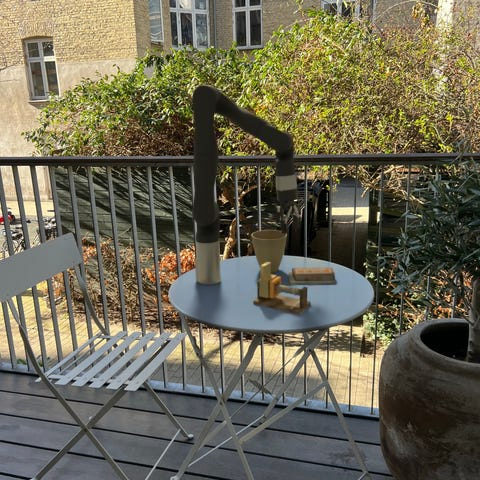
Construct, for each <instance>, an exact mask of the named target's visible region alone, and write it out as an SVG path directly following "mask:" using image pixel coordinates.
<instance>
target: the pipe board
mask: <svg viewBox="0 0 480 480" xmlns="http://www.w3.org/2000/svg"><path fill="white" fill-rule="evenodd" d="M256 283H257V284H256V285H257V287H256V289H257V291H256V292H257V293H256V294H257V297H256V298H255V299H253V304H254V305H258V306H262V307H265V308H269V309H275V310H279V311H282V312H287V313H291V314H296V315H301V314H302V313H303V312H305V310H307V309H308V308H309V307H310V306H311V304H312V303H311V301H308V287H307V286H303V287H302V288H299V287H293V286H288V285H284V284H281V285H279V284H274V291H279V292H281V293H285V294H289V295H294V296H299V298H294V297H290V296H285V295H280V294H278V295H277V296H276V297H274V298H270V297H269V298H265V297H261V296H260V291H259V280H257V282H256Z"/></svg>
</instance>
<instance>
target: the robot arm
mask: <svg viewBox="0 0 480 480" xmlns="http://www.w3.org/2000/svg"><path fill="white" fill-rule="evenodd" d="M191 97H192V99H191V101H192V110H193V111H192V112H193V123H194V124H193V125H194V127H193V129H194V131H193V132H194V133H193V182H194V184H193V185H194V195H193V203H192V204H193V205H192V218H193V220H194V222H195V223H196V224H197V227H196V232H195V247H196V258H194V267H195V268H194V269H195V282H198V283H199V284H200V285H204V286H206V285H207V286H213V285H216V284H220V282H221V280H222V279H221V278H222V275H221V273H222V272H221V251H220V250H221V249H220V233H221V213H220V211H221V210H220V207H219V204H218V203H217V201H215V197H214V193H215V191H214V189H215V184H216V180H217V175H218V171H219V155H220V154H219V153H220V152H219V143H218V139H217V135H216V132H215V114H216V115H219V116H221V117H224V118H226V119H227V120H229V121H230V122H232V123H233V124H234V125H235V126H237V127H238V128H239V129H240V130H242V131H243V132H245V133H246V134H248V135H250V136H251V137H253V138H255V139H257V140H259V141H261V142H262V143H264V144H265V145H266V146H267V147H269V148H270V149H272V150H274V151H275V162H274V169H275V170H274V171H275V172H274V173H275V188H276V189H275V190H276V198H277V202H279V203H280V206H276V207H275V218H276V220H275V221H276V223H277V224H280V231H281V232H282V233H283V234H288V223H287V222H288V219H289V218H290V216H291V217H292V221H291V223H292V227H293V228H294V229H297V228H299V227H300V223H299V218H300V216H301V215H302V208H301V201H300V200H301V199H299V197H298V184H297V182H298V181H297V177H296V171H295V162H294V161H295V160H294V153H295V152H294V151H295V148H294V147H295V145H294V138H293V136H292V134H291V133H289V132H287V131H282V130H280V129H278V128H276V127H275V126H273V125H272V124H271V123H270V122H268V121H267V120H266V119H263V118H262V117H260V116H259V115H257V114H255V113H253V112H252V111H249V110H247V109H245V108H244V107H242V106H241V105H239V104H237V103H236V102H234V101H233V100H231V99H230V98H229V97H227V96H226V95H225V94H224V93H223V92H221V91H220V90H219V89H218V88H217V87H215V86H213V85H208V84H201V85H198V86H196V88H195V89H194V90H193V92H192V96H191Z"/></svg>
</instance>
